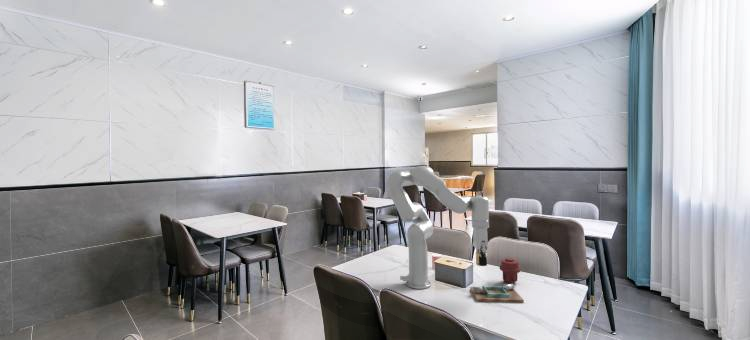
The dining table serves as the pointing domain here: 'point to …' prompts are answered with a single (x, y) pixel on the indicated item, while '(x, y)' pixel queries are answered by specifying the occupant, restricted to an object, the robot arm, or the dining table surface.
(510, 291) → the brown wooden board
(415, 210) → the robot arm
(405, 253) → the dining table surface
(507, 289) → the shaft
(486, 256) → the cylinder
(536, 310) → the dining table surface
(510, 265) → the mechanical component
